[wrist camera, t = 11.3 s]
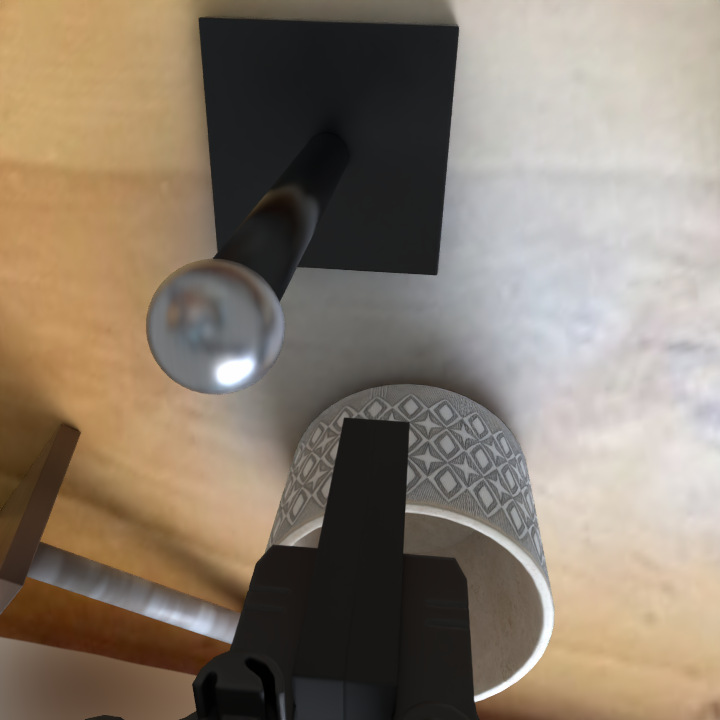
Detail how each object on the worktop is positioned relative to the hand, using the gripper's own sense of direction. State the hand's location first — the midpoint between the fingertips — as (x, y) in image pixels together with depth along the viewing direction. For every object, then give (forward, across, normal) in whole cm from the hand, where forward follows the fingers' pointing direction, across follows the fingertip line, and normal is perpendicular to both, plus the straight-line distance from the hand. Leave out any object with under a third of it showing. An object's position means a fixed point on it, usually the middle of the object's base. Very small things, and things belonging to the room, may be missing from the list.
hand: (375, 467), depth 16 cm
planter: (+26, +1, -20) cm, 33 cm away
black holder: (+13, -9, +2) cm, 16 cm away
